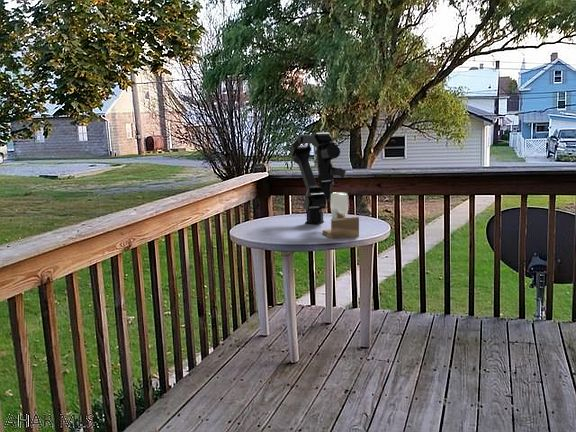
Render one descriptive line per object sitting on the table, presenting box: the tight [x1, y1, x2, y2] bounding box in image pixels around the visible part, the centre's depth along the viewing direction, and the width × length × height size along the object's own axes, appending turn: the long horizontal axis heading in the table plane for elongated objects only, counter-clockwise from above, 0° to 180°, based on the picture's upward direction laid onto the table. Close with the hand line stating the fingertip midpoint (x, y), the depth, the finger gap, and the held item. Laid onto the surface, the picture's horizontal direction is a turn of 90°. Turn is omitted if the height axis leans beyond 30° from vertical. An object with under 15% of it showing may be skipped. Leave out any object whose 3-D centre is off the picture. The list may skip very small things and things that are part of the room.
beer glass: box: [329, 191, 349, 219], centre depth 219 cm, size 7×7×15 cm
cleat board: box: [322, 215, 360, 240], centre depth 219 cm, size 10×11×8 cm
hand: (328, 199), depth 231 cm, fingers open, 9 cm apart
